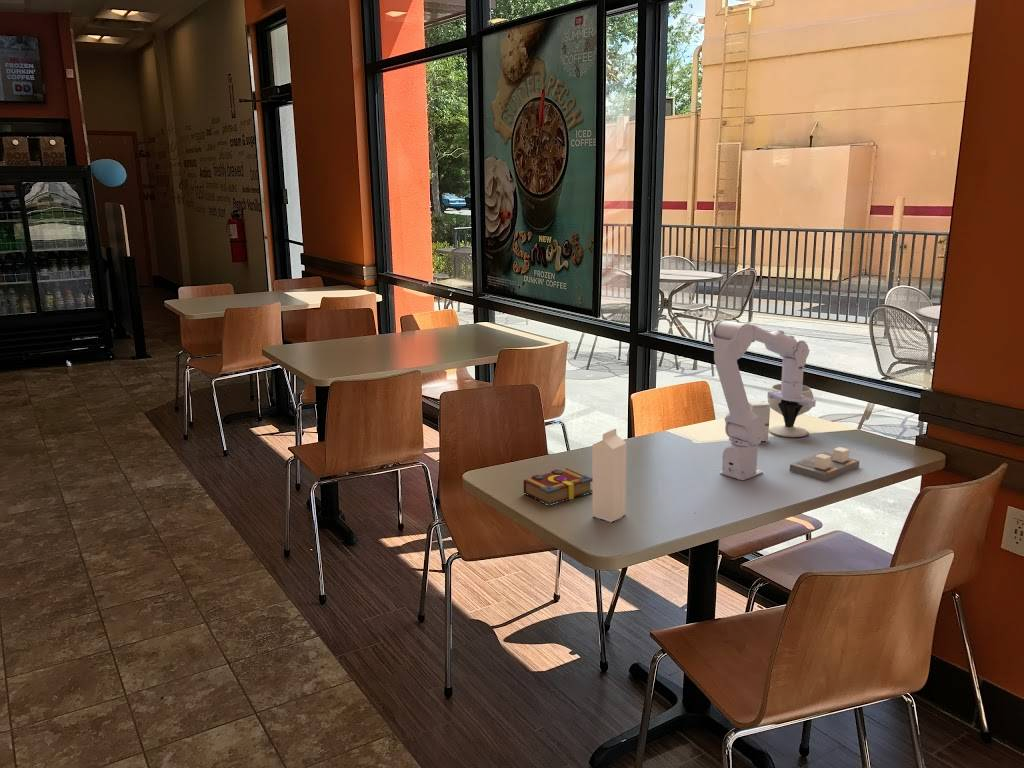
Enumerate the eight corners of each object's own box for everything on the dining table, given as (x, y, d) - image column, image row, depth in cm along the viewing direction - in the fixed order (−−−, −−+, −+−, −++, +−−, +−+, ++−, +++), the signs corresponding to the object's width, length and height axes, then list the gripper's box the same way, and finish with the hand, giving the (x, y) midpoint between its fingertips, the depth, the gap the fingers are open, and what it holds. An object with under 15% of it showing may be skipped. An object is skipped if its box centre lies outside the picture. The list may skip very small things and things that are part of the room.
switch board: (824, 481, 224) (825, 473, 224) (789, 471, 233) (789, 463, 233) (858, 467, 235) (859, 460, 234) (823, 458, 243) (824, 451, 243)
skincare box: (750, 442, 259) (752, 405, 256) (744, 438, 263) (746, 401, 260) (769, 441, 259) (771, 404, 257) (763, 437, 264) (764, 400, 261)
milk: (625, 515, 205) (627, 430, 200) (612, 523, 200) (613, 436, 195) (605, 510, 209) (606, 426, 203) (591, 517, 204) (592, 431, 199)
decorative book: (522, 495, 221) (522, 477, 219) (569, 481, 230) (569, 464, 228) (548, 507, 212) (548, 489, 210) (596, 493, 220) (596, 475, 219)
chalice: (757, 432, 269) (759, 388, 265) (780, 424, 277) (783, 380, 274) (797, 442, 258) (799, 395, 255) (819, 432, 267) (822, 387, 264)
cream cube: (842, 462, 232) (843, 451, 231) (832, 460, 235) (833, 449, 234) (848, 460, 234) (849, 449, 233) (838, 457, 236) (839, 446, 236)
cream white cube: (823, 469, 227) (824, 458, 226) (814, 467, 229) (814, 456, 228) (830, 467, 229) (831, 456, 228) (820, 464, 231) (821, 453, 230)
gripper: (823, 382, 232) (819, 429, 236) (778, 374, 244) (776, 418, 247) (808, 387, 228) (805, 434, 232) (763, 378, 240) (761, 423, 243)
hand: (789, 426), depth 239 cm, fingers closed
